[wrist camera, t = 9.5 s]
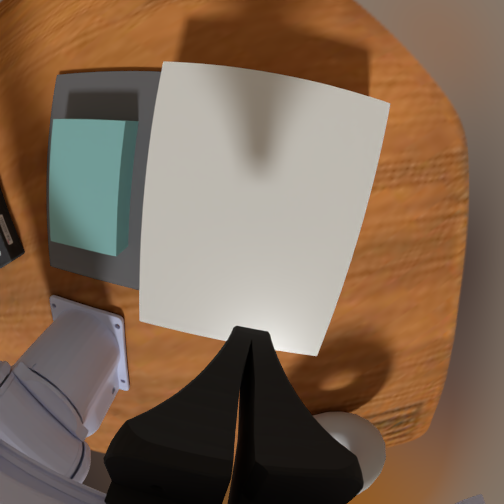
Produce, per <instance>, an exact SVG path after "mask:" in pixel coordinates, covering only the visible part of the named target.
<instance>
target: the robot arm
mask: <svg viewBox="0 0 504 504" xmlns="http://www.w3.org/2000/svg"><path fill="white" fill-rule="evenodd" d="M50 305H51V311H52V316H53V321H54V322H53V323H52V324H51V325H50V326H49V327H48V328H47V329H46V330H45V331H44V332H43V333H42V334H41V335H40V336H39V337H38V339H37V340H36V341H35V342H34V343H33V344H32V345H31V346H30V347H29V348H28V349H27V351H26V352H25V353H24V354H23V355H22V356H21V357H20V358H19V359H18V361H17V362H16V363H15V364H14V365H13V366H10V365H9V363H8V362H7V361H3V362H2V361H0V504H222V502H223V500H224V496H225V494H226V491H227V488H228V486H229V483H230V480H231V474H232V467H233V457H234V442H235V429H236V419H237V409H238V399H239V390H240V400H239V425H238V442H237V449H236V455H235V462H234V469H233V475H232V481H231V487H230V493H229V499H228V504H347V503H348V502H349V501H350V500H352V499H353V498H354V497H355V496H356V495H357V494H358V493H359V492H360V491H361V490H362V488H363V486H364V481H363V475H362V471H361V467H360V464H359V461H358V458H357V456H356V455H355V454H353V453H352V452H351V451H349V450H348V449H347V448H346V447H344V446H343V445H342V444H340V443H339V442H338V441H337V440H336V439H335V438H333V437H332V436H331V435H330V434H329V433H328V432H327V431H326V430H325V429H324V428H323V427H322V426H321V425H320V423H319V422H318V421H317V420H316V419H315V418H314V417H313V416H312V415H311V413H310V412H309V411H308V409H307V408H306V407H305V405H304V404H303V403H302V401H301V400H300V398H299V397H298V395H297V394H296V392H295V390H294V389H293V387H292V385H291V384H290V382H289V380H288V378H287V376H286V374H285V372H284V370H283V368H282V366H281V364H280V361H279V359H278V357H277V354H276V352H275V349H274V346H273V343H272V340H271V336H270V334H269V332H268V331H263V330H257V329H252V328H247V327H241V326H235V327H233V330H232V332H231V334H230V336H229V338H228V340H227V341H226V343H225V344H224V346H223V347H222V348H221V350H220V351H219V352H218V354H217V355H216V356H215V358H214V359H213V360H212V361H211V362H210V363H209V364H208V366H207V367H206V368H205V369H204V370H203V371H202V372H201V373H200V374H199V375H198V376H197V377H196V378H195V379H193V380H192V381H191V382H190V383H189V384H188V385H187V386H185V387H184V388H183V389H181V390H180V391H179V392H178V393H176V394H175V395H173V396H172V397H170V398H169V399H167V400H166V401H164V402H162V403H161V404H159V405H157V406H156V407H154V408H152V409H151V410H149V411H147V412H145V413H142V414H140V415H138V416H136V417H134V418H132V419H129V420H127V421H126V422H125V423H124V424H123V425H122V427H121V428H120V429H119V431H118V432H117V433H116V435H115V436H114V438H113V439H112V441H111V443H110V445H109V447H108V450H107V452H106V454H105V457H104V464H105V466H106V469H107V471H108V473H109V475H110V478H111V480H112V482H111V484H110V487H109V489H108V492H107V494H105V493H102V492H100V491H98V490H95V489H93V488H90V487H88V486H86V485H83V484H82V482H83V481H84V479H85V477H86V475H87V473H88V470H89V467H90V461H91V460H90V456H91V453H90V447H89V445H88V444H87V443H86V442H85V441H84V440H85V438H86V437H88V436H90V435H92V434H93V433H94V432H96V431H97V429H98V428H99V427H100V425H101V423H102V421H103V419H104V417H105V415H106V413H107V411H108V409H109V407H110V405H111V403H112V401H113V400H114V398H115V396H116V394H117V392H118V390H119V389H121V390H125V391H128V390H129V387H130V386H129V378H128V368H127V358H126V346H125V332H124V320H123V318H122V317H121V316H120V315H117V314H114V313H110V312H107V311H103V310H100V309H97V308H93V307H90V306H87V305H84V304H80V303H77V302H74V301H71V300H68V299H65V298H62V297H59V296H56V295H52V296H51V297H50ZM117 324H118V325H119V326H118V325H117ZM456 504H485V502H484V499H483V496H482V494H479V495H476V496H473V497H471V498H467V499H464V500H462V501H460V502H457V503H456Z"/></svg>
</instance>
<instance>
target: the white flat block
mask: <svg viewBox="0 0 504 504" xmlns="http://www.w3.org/2000/svg"><path fill="white" fill-rule="evenodd" d="M389 108H390V103H387V102H384V101H381V100H378V99H375V98H372V97H369V96H366V95H362V94H359V93H356V92H352V91H349V90H345V89H342V88H338V87H334V86H330V85H326V84H322V83H318V82H314V81H310V80H305V79H301V78H296V77H291V76H286V75H281V74H276V73H270V72H264V71H258V70H251V69H245V68H237V67H229V66H220V65H210V64H199V63H185V62H163V66H162V71H161V76H160V81H159V86H158V92H157V98H156V103H155V109H154V116H153V122H152V129H151V136H150V143H149V151H148V160H147V168H146V178H145V188H144V200H143V213H142V228H141V248H140V287H139V310H140V321H142V322H146V323H150V324H153V325H157V326H161V327H165V328H170V329H174V330H178V331H182V332H187V333H191V334H195V335H200V336H205V337H209V338H214V339H219V340H224V341H227V340H228V338H229V336H230V334H231V332H232V330H233V327H235V326H241V327H247V328H252V329H257V330H263V331H268V332H269V334H270V336H271V340H272V343H273V346H274V349H275V350H279V351H285V352H292V353H298V354H305V355H312V356H317V355H318V352H319V349H320V347H321V344H322V342H323V339H324V337H325V334H326V331H327V329H328V326H329V323H330V321H331V318H332V315H333V312H334V310H335V307H336V304H337V301H338V298H339V295H340V292H341V289H342V287H343V284H344V281H345V278H346V274H347V271H348V268H349V265H350V262H351V259H352V256H353V253H354V249H355V246H356V243H357V239H358V236H359V233H360V229H361V226H362V222H363V219H364V215H365V211H366V208H367V204H368V200H369V197H370V193H371V189H372V185H373V181H374V177H375V173H376V169H377V165H378V160H379V156H380V152H381V147H382V143H383V138H384V133H385V128H386V123H387V118H388V113H389Z"/></svg>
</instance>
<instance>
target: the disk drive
mask: <svg viewBox="0 0 504 504" xmlns="http://www.w3.org/2000/svg"><path fill="white" fill-rule="evenodd" d="M24 253H25V251H24V249H23V246H22V244H21V242H20V239H19V237H18V234H17V232H16V229H15V227H14V224H13V222H12V219H11V216H10V214H9V211H8V208H7V205H6V202H5V200H4V197H3V194H2V191H1V187H0V268H2V267H4V266H5V265H7V264H8V263H10V262H12V261H13V260H15V259H16V258H18V257H20V256H21V255H22V254H24Z"/></svg>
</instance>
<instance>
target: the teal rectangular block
mask: <svg viewBox="0 0 504 504" xmlns="http://www.w3.org/2000/svg"><path fill="white" fill-rule="evenodd" d="M138 122H139V121H126V120H108V119H53V126H52V137H51V150H50V171H49V217H50V238H51V241H53V242H57V243H61V244H65V245H69V246H73V247H78V248H82V249H86V250H90V251H94V252H98V253H103V254H107V255H111V256H117V255H119V254H120V253H121V252H122V251H123V250H124V249H125V248H127V247H128V234H129V212H130V197H131V184H132V173H133V163H134V153H135V145H136V137H137V129H138Z"/></svg>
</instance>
